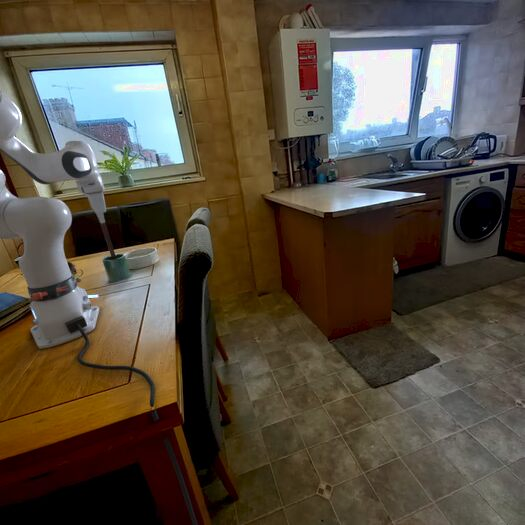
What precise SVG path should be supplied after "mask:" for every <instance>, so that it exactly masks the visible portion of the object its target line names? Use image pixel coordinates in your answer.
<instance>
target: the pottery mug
mask: <svg viewBox="0 0 525 525" xmlns="http://www.w3.org/2000/svg"><path fill="white" fill-rule="evenodd" d="M67 263H68V266H69V269H70V272H71V274H73V273H75V274H77V268H76V265H75V264H73V262H71V261H67Z"/></svg>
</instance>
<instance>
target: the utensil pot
mask: <svg viewBox="0 0 525 525" xmlns="http://www.w3.org/2000/svg"><path fill="white" fill-rule="evenodd" d="M116 254H117V257H118V258H117V259H114V260H111V259H110V256H109V255H107V256H105V257H103V258H102V259H101V261H102V264H103V267H104V270H105V274H106V276H107V279H108V281H109V283H118V282H121V281H125V280H126V279H128V278H130V277H131V271H130V269H129V268H128V264H127V261H126V258H125V255H124V254H125V253H116Z"/></svg>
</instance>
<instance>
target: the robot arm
mask: <svg viewBox="0 0 525 525" xmlns="http://www.w3.org/2000/svg"><path fill="white" fill-rule="evenodd" d="M22 120H23V118H22V113H21V111H20V109H19V107H18V106H17V105H16V104H15V103H14V101H13V100H12V99H11V98H9V97H8V96H7V95H6V94H5V93H3V91H1V90H0V152H1V153H2V154H4V155H5V156H7V158H8V159H10V160H11V161H13V162H14V163H15V164H16V165H17V166H19V167H21V169H23V171H25V172H26V173H27V175H28V176H29V177H30V178H31V179H32V180H33V181H35V182H37V183H38V184H40V185H50V184H51V185H52V184H55V183H56V184H57V183H61V182H62V183H63V182H69V181H75V184H76V187H77V190H78V193H79V194H83V197H84V198H87V200H88V203H89V206H90V209H91V210H92V211H93V212H94V213H95V214H96V217H97V220H98V222H99V224H100V223H105V224H106V219H105V214H104V213H107V206H106V200H105V196H104V191H106V187H105V184H104V181H103V178H102V176H101V174H100V172H99V165H98V161H97V159H96V155H95V152H94V150H93V149H92V148H91V146H90V144H89V143H87V142H86V141H81V140H70V141H66V142H65V146H64V147H62V149H59V150H58V151H54V152H46V153H42V152H41V153H40V152H35V151H32V150H31V149H30V148H29V147H28V146H26V145H25V144H24V143H22V141H21V140H20V139H18V138H17V137H16V135H18V133H19V131H20V130H21V127H22V122H23V121H22ZM6 181H7V179H6V174H5V173H4V172H3V171H2V170H1V169H0V239H4V240H17V239H22V242H23V254H22V255H21V257H20V258H19V260H18V267H19V269H20V271H21V273H22V276H23V278H24V280H25V283H26V284H27V293H28V295H29V297H30V300H31V302H30V304H28V306H29V308H30V310H31V313H32V315H33V317H34V319H33V320H32V323H33V325H34V326H32V327H30V333H31V335H32V337H33V340H34V342H35V344H36V346H37V348H38V349H39V350H43V349H48V348H53V347H56V346H60V345H63V344H65V343H68V342H70V341H71V342H72V341H73V340H75V339H78V338H81V337H83V339H84V341H85V345H84V347H83V349H82V350H81V351H80V353H79V354H78V356H77V361H78V363H79V364H80V365H82V366H83V367H86V368H92V369H98V370H99V369H100V370H106V371H107V370H108V371H109V370H112V371H113V370H114V371H115V370H116V371H117V370H119V371H120V370H123V371H124V370H125V371H129V372H133V373H136V374H138V375H140V376H141V377H143V378H144V379H145V380H146V382H147V383H148V385H149V387H150V395H149V396H150V397H149V407H150V406H151V407H153V406H154V402H155V397H156V386H155V385H156V384H155V383H154V381H153V379H152V377H151V376H150V375H148V373H146V372H145V371H143V370H142V369H139V368H137V367H134V366H130V365H104V364H97V363H90V362H87V361H85V360H84V359H83V356H84V354H86V352H87V350H88V349H89V346H90V339H89V336H88V333H89V334H90V333H91V332H92V331H94V330H95V329H96V326H97V322H98V317H99V313H100V310H101V308H100V307H99V306H98V305H94V306H93V305H92V303H91V301H90V298H92V299H93V298H99V294H91V295H88V293H87V291H86V289H85V288H82V287H80V286H78V283H77V278H76V277H75V276H74V274H73V273H72V274H71V272H70V269H69V266H68V263H67V262H68V260H67V258H66V255H65V254H66V253H65V250H64V249H65V248H64V241H65V235H66V233H67V231H68V230H69V229H70V228H71V226H72V222H73V215H72V211H71V210H70V208H69V206H68V205H67V204H66V203H65V202H64V201H62V200H60V199H58V198H53V197H47V196H31V197H22V198H20V197H18V196H15V195H14V194H12V193H11V192H10V191H9V189H8V187H6ZM154 386H155V387H154ZM150 413H151V417H152V420H153V421H154V422H157V421H158V420H159V415H158V413H157V409H156V408H155V412H151V411H150ZM163 443H164V445H165V448H166V450H167V452H168V455H169V458H170V461H171V464H172V465H173V466H172V467H173V468H174V471H175V474H176V477H177V480H178V482H179V486H180V489H181V491H182V494H183V498H184V501H185V504H186V507H187V510H188V513H189V514H188V515H189V517H190V520H191V523H192V525H199V524H198V521H197V518H196V515H195V512H194V509H193V505H192V503H191V499H190V496H189V492H188V489H187V486H186V483H185V480H184V477H183V474H182V470H181V468H180V465H179V462H178V460H177V457H176V454H175V453H174V449H173V447H172V444H171V441H170V439H169V437H167V438H166V439H163Z"/></svg>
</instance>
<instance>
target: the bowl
mask: <svg viewBox="0 0 525 525" xmlns="http://www.w3.org/2000/svg"><path fill="white" fill-rule="evenodd" d="M123 254H124V255H125V258H126V261H127V264H128V268H129V270H137V269H143V268H147V267H150V266H153V265H155V264H156V263H158V262H159V261H160V256H159V252H158V249H157V248H156V247H151V246H149V247H141V248H137V249H133V250H129V251H126V252H125V253H123Z"/></svg>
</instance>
